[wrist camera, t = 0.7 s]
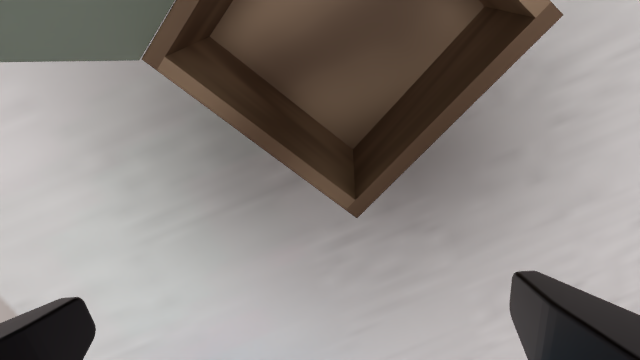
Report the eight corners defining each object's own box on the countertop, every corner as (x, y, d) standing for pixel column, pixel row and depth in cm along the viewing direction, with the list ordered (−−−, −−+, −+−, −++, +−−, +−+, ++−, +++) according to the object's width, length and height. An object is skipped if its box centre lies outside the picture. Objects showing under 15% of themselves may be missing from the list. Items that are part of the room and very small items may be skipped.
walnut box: (196, 36, 20) (141, 59, 15) (328, -172, 16) (320, -244, 11) (353, 159, 22) (356, 218, 17) (500, 3, 19) (563, 14, 13)
